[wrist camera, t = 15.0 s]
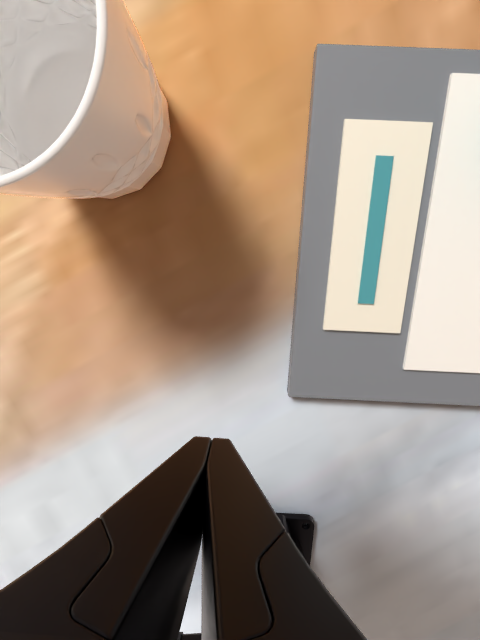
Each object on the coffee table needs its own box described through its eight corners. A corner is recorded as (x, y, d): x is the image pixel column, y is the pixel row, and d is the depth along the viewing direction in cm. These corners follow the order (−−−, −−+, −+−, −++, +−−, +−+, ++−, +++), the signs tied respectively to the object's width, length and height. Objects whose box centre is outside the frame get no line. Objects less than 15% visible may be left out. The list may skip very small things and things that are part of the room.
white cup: (150, 7, 17) (12, -303, 7) (204, 182, 18) (156, 131, 9) (-4, 67, 17) (-325, -137, 8) (63, 230, 19) (-128, 231, 9)
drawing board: (566, 404, 21) (584, 413, 20) (287, 390, 21) (289, 399, 20) (663, 65, 17) (692, 54, 16) (314, 52, 17) (318, 40, 16)
